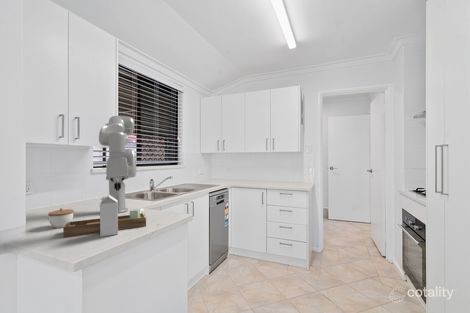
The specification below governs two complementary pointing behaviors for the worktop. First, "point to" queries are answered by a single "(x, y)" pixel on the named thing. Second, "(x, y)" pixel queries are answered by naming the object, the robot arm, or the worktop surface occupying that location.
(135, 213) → the block
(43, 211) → the worktop surface
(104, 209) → the milk carton
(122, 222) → the box
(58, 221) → the lidded jar
